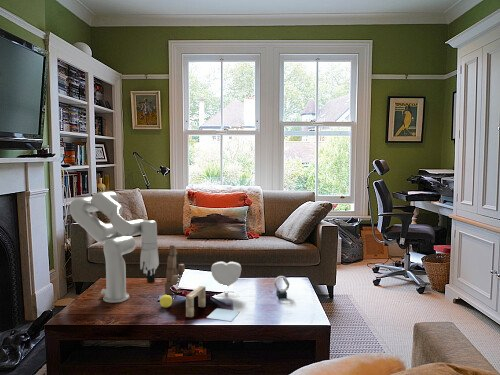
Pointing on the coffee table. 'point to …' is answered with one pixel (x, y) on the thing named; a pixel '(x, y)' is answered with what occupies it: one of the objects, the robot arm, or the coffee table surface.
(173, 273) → the wooden toy
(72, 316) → the coffee table surface
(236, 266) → the heart sculpture
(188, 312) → the bridge
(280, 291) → the watch
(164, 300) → the ball
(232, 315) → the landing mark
